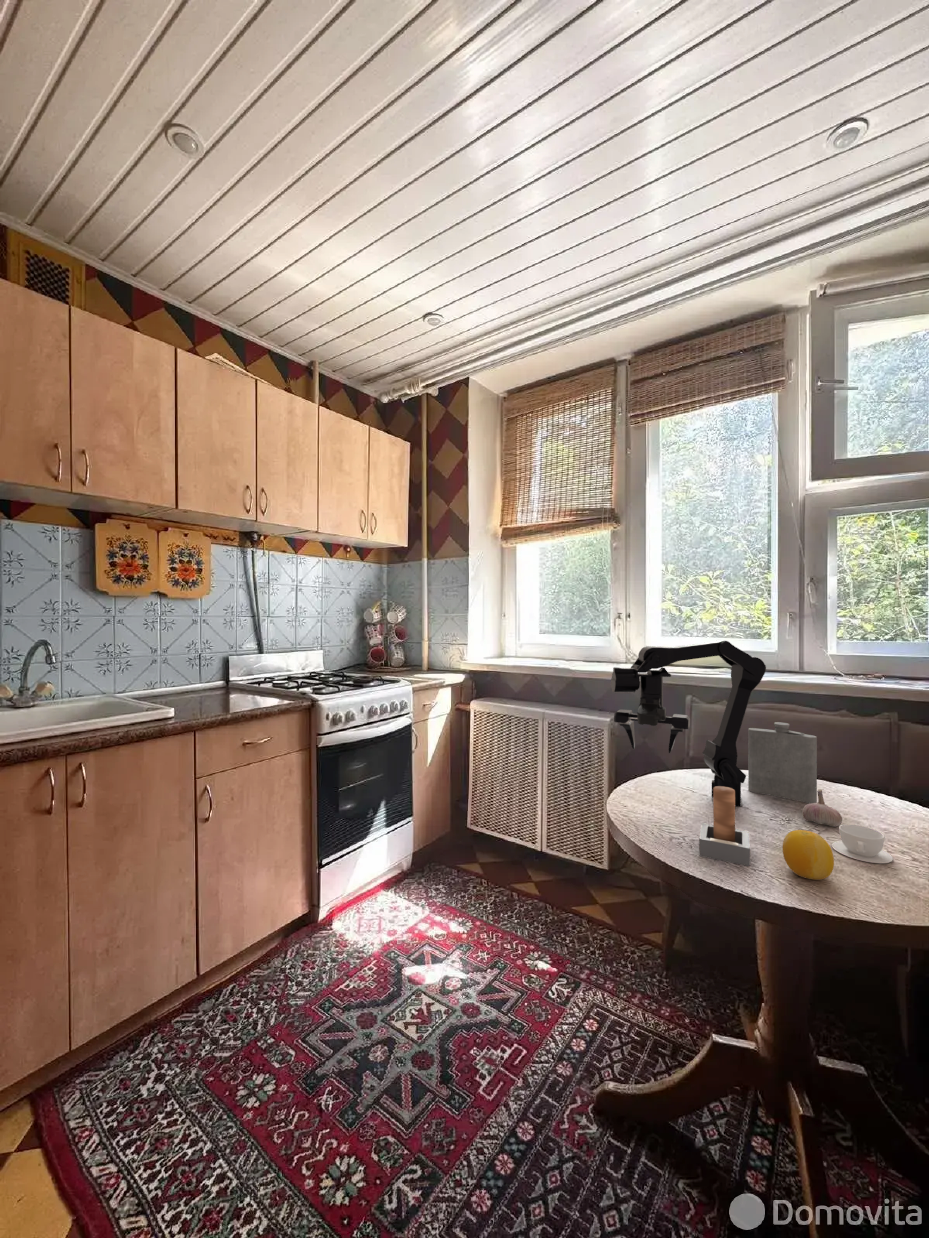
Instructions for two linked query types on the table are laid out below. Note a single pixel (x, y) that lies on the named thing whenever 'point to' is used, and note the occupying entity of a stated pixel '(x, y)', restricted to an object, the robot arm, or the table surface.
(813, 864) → the fruit
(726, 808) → the peg
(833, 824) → the garlic bulb
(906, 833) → the table surface
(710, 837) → the socket block
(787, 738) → the hip flask
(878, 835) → the teacup
